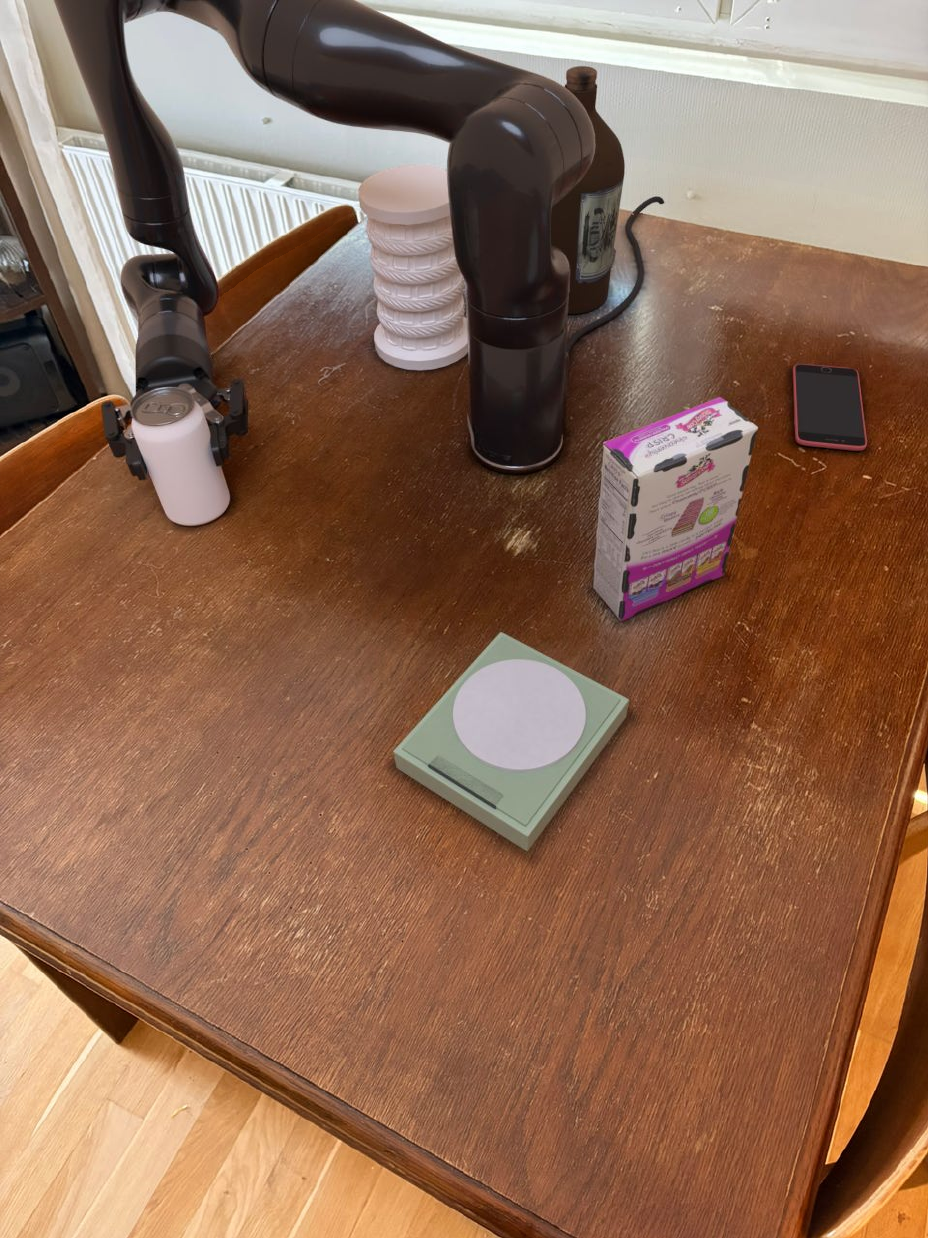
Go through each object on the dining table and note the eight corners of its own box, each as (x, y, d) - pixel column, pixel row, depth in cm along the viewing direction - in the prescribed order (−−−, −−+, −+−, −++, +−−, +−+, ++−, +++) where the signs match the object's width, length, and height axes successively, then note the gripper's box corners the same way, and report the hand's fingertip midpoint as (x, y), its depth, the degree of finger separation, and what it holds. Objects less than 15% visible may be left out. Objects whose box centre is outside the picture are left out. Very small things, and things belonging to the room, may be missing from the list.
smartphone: (859, 367, 98) (868, 448, 89) (857, 372, 98) (867, 452, 89) (792, 362, 99) (795, 441, 90) (791, 366, 99) (794, 445, 90)
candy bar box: (690, 543, 82) (721, 392, 70) (724, 577, 79) (763, 427, 67) (587, 587, 79) (600, 438, 67) (618, 624, 76) (639, 476, 64)
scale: (500, 649, 75) (500, 624, 73) (626, 717, 70) (630, 693, 68) (395, 768, 68) (391, 745, 66) (527, 852, 63) (527, 831, 61)
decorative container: (355, 342, 106) (331, 189, 93) (429, 305, 111) (417, 153, 98) (418, 382, 101) (403, 225, 87) (493, 341, 105) (490, 185, 92)
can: (216, 532, 86) (181, 430, 77) (154, 524, 87) (112, 424, 78) (241, 487, 90) (210, 386, 81) (181, 481, 91) (144, 380, 82)
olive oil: (509, 296, 112) (508, 73, 93) (566, 264, 116) (576, 45, 97) (573, 328, 106) (587, 98, 87) (630, 293, 111) (655, 67, 92)
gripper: (89, 344, 89) (83, 447, 78) (235, 320, 90) (248, 418, 80) (115, 407, 94) (113, 511, 84) (251, 383, 96) (266, 482, 85)
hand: (179, 465), depth 82 cm, fingers closed on can, 6 cm apart
